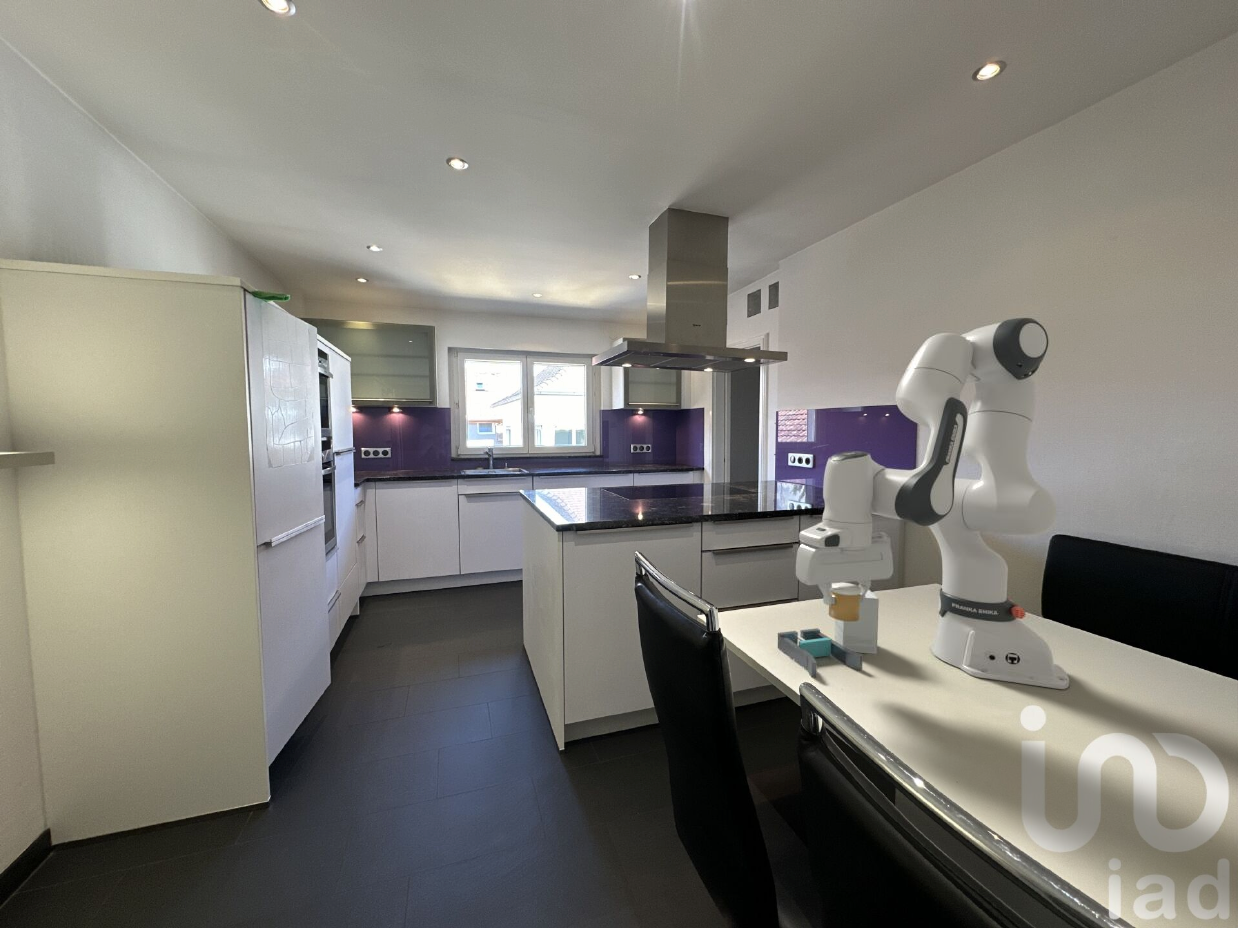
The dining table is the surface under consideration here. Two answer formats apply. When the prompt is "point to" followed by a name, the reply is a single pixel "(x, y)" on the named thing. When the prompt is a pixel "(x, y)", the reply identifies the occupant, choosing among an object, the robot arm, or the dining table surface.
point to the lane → (806, 660)
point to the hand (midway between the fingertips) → (844, 602)
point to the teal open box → (816, 646)
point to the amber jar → (845, 602)
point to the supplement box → (860, 628)
